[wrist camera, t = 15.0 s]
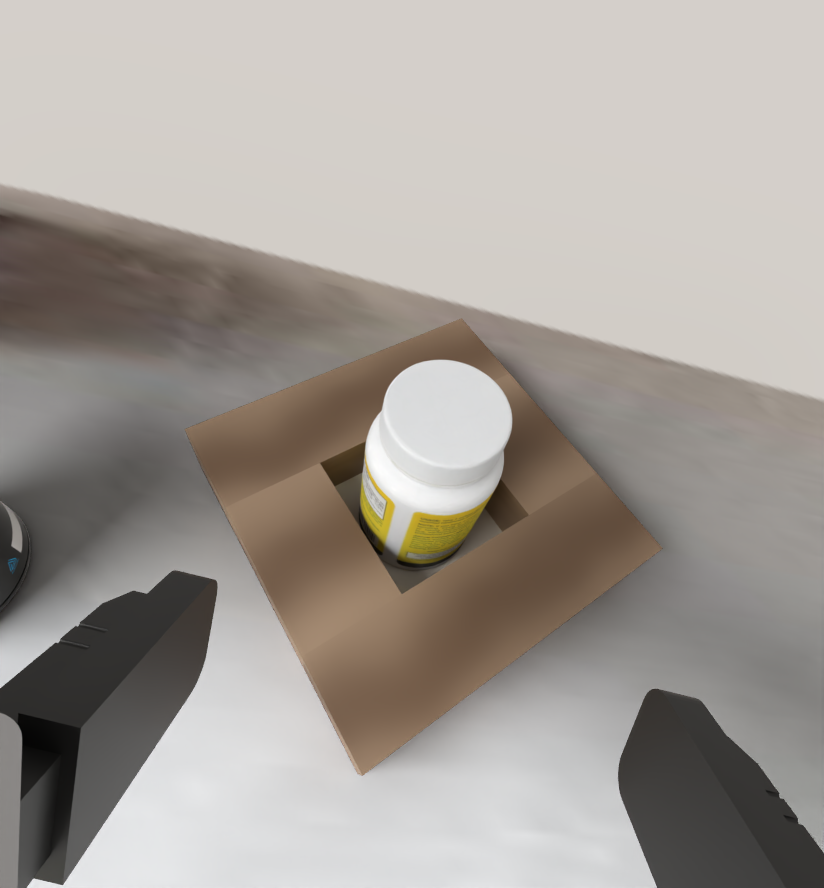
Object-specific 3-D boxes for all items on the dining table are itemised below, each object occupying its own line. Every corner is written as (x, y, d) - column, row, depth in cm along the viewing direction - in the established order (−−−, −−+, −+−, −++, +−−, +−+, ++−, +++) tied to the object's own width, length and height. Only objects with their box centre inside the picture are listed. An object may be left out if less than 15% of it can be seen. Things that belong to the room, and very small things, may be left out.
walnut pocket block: (200, 465, 27) (184, 429, 24) (449, 358, 33) (461, 318, 30) (357, 773, 21) (362, 775, 18) (625, 572, 27) (662, 548, 24)
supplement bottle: (482, 504, 27) (549, 393, 19) (436, 594, 25) (490, 510, 16) (391, 454, 28) (417, 327, 20) (336, 535, 25) (339, 428, 17)
